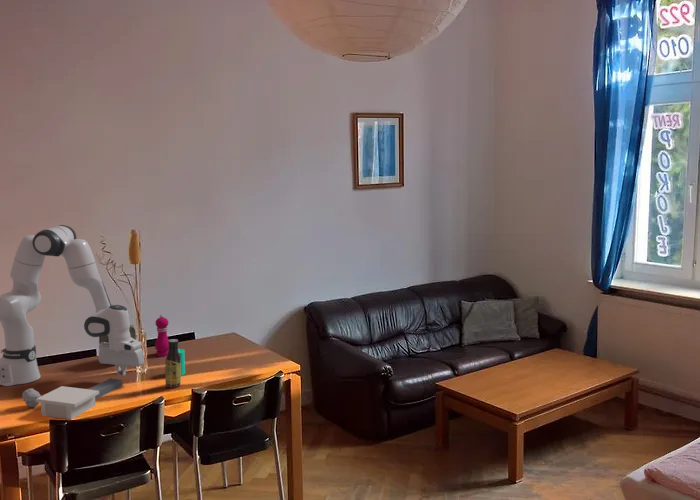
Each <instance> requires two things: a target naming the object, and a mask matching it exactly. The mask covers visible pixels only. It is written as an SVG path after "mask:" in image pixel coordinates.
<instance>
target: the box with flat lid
mask: <svg viewBox="0 0 700 500" xmlns="http://www.w3.org/2000/svg"><path fill="white" fill-rule="evenodd" d="M98 394H99V391H97V390H89V388H80V387H79V388H78V387H70V386H63V385H61V386H59V387H58V388H55V389H53V390H51V391H49V392H48V393H45V394H43V395H41V397H39V398H37V399H36V402H39V404H40V411H41V412H40V413H41V416H43V417H44V416H45V417H50V418H51V417H52V418H57V419H65V420H72V419H74V418H76V417H79V416H80V415H81V414H83V413H85V412H87V411H88V410H90V409H92V408H94V407H95V406H96V399H95V396H96V395H98Z"/></svg>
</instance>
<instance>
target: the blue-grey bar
mask: <svg viewBox="0 0 700 500" xmlns="http://www.w3.org/2000/svg"><path fill="white" fill-rule="evenodd" d="M123 386H124V385H123V379H120V378H119V379H118V378H113V377H111V378H108V379H106V380H105V381H102V382H100V383H98V384H96V385H93V386H91V387H89V388H88V389H89V390H97V391H99V394H98V395H96V396H95V400H97V399H100V398H102V397H103V396H105V395H107V394H110V393H112V392H113V391H116V390H117V389H119V388H122V387H123Z"/></svg>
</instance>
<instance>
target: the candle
mask: <svg viewBox="0 0 700 500" xmlns="http://www.w3.org/2000/svg"><path fill="white" fill-rule="evenodd" d="M178 352H179V353H180V356H181V376H183V375H185V374H186V361H185V360H186V358H185V349H183V348H178Z"/></svg>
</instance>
